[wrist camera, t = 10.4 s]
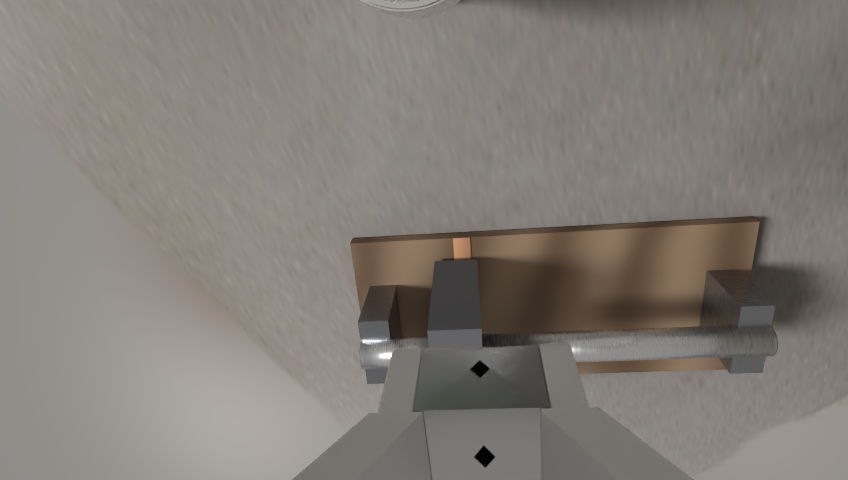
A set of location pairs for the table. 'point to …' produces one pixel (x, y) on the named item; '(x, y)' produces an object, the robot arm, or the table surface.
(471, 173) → the table surface
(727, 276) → the linear slide rail
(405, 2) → the beer glass
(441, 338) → the collar
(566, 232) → the board
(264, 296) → the table surface
